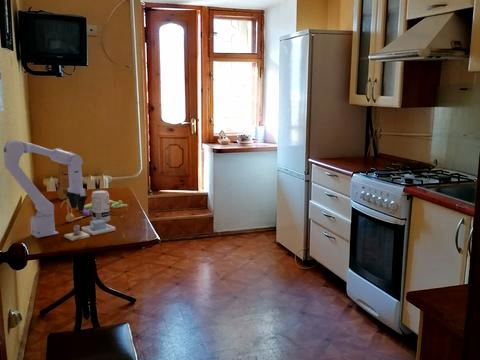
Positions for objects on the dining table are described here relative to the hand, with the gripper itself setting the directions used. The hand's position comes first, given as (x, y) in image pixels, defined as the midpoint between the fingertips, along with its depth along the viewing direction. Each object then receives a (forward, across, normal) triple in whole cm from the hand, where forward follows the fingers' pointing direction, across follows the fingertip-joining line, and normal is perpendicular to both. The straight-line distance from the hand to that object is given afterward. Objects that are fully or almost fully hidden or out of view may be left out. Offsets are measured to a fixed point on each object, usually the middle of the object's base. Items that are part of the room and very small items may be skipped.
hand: (77, 209), depth 211 cm
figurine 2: (+10, +26, -26) cm, 38 cm away
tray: (+9, -9, -6) cm, 14 cm away
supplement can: (+10, +5, -14) cm, 18 cm away
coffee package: (+10, +72, -26) cm, 77 cm away
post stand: (+9, -12, +6) cm, 16 cm away
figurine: (+10, +16, -3) cm, 19 cm away
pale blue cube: (+9, -9, -5) cm, 14 cm away
